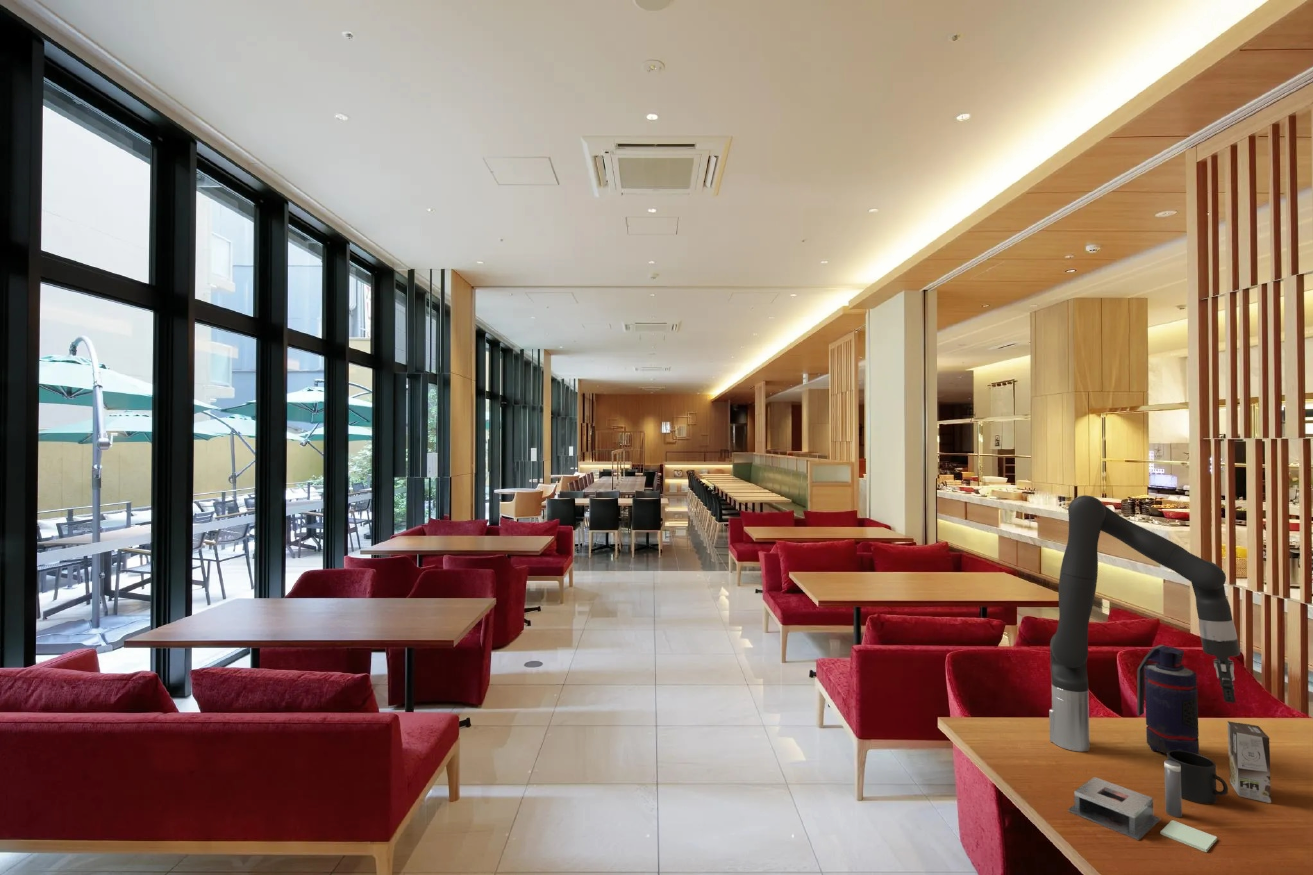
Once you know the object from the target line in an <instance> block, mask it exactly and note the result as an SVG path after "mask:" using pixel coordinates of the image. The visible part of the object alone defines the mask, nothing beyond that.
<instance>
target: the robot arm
mask: <svg viewBox="0 0 1313 875" xmlns="http://www.w3.org/2000/svg"><path fill="white" fill-rule="evenodd" d="M1067 512H1068V513H1067V514H1068V535H1067V536H1068V537H1067V544H1066V546H1065V547H1066V548H1065V550H1064V553H1063V558H1062V562H1061V566H1060V573H1059V580H1058V610H1059V612H1058V613H1059V615H1058V622H1057V628H1056V632H1055V633H1054V634H1053V635H1052V637H1051V639H1050V643H1049V647H1050V648H1049V649H1050V678H1051V679H1050V680H1051V708H1049V711H1048V713H1049V714H1048V715H1049V742H1050V743H1053V744H1055V745H1056V746H1058V747H1059V748H1062V749H1066V750H1068V751H1074V752H1087V751H1089V750H1090V747H1091V746H1090V743H1091V741H1090V709H1089V700H1090V699H1089V679H1088V678H1089V677H1088V667H1087V661H1088V658H1089V623H1090V618H1091V613H1092V611H1093V606H1094V601H1095V596H1096V590H1097V585H1098V584H1097V582H1098V572H1099V558H1098V557H1099V556H1098V547H1099V546H1098V545H1099V544H1098V543H1099V539H1100V534H1101V531H1102V532H1103V533H1106V534H1108V535H1110V536H1112V537H1113V538H1114V539H1117V540H1118V541H1121V542H1122V543H1124V544H1125V545H1127V546H1128V547H1130V548H1131V549H1133V550H1135V551H1136V552H1138V553H1139V554H1141V555H1143V556H1145V557H1146V558H1149V559H1150V560H1152V561H1154V562H1156V563H1157V564H1159V565H1161V566H1162V567H1165V568H1167V569H1169V570H1171V571H1173V572H1175V574H1177V575H1180V576H1181V577H1183V578H1184V579H1186V580H1187V581H1189V582H1191V586H1192V589H1193V592H1194V593H1193V594H1194V596H1195V606H1196V607H1195V608H1196V613H1197V619H1198V631H1199V634H1200V635H1199V636H1200V641H1201V646H1202V651H1203V653H1205V654H1206V655H1209V656H1214V657H1215V659H1213V666H1214V669H1215V671H1216V677H1217V679H1218V680H1219V682H1220V683H1219V686H1220V687H1221V690H1222V696H1223V700H1224V702H1225V703H1229V704H1230V703H1231V704H1236V696H1235V685H1234V682H1233V681H1235V679H1236V678H1235V674H1234V672H1235V671H1234V670H1235V665H1234V661H1233V660H1231V659H1230V658H1231V657H1232V658H1233V657H1238V656H1240V655H1241V650H1240V646H1239V644H1240V643H1239V640H1238V635H1237V630H1236V626H1235V622H1234V620H1233V615H1232V610H1231V609H1232V608H1231V606H1230V603H1229V600H1228V598H1227V595H1226V590H1225V584H1226V582H1227V581H1226V580H1227V577H1226V573H1225V572H1224V570H1223V569H1222V568H1221V567H1220V566H1219V565H1218V564H1216V563H1214V562H1213V561H1209V560H1205V559H1203V558H1202V557H1199V556H1197V555H1195V554H1193V553H1192V552H1191V553H1190V552H1189V551H1188V550H1186V549H1185V548H1184V547H1182V546H1181V545H1179V544H1176V543H1175V542H1173V541H1171V540H1169V539H1167V538H1166V537H1163V536H1162V535H1160V534H1157V533H1155V532H1154V531H1150V530H1148V529H1147V528H1144V527H1142V526H1140V525H1139V524H1136V523H1135V522H1131V521H1130V520H1128V519H1126V518H1124V517H1122V516H1121V515H1119V514H1118V513H1116V512H1115V511H1114V510H1112V509H1111V508H1109V507H1108V506H1107V505H1105V504H1104V503H1103V502H1102V501H1101V500H1100V499H1098V498H1097V497H1095V496H1092V495H1086V494H1085V495H1080V496H1077V497H1075V498H1073V500H1071V502H1070V503H1069V505H1068V508H1067Z"/></svg>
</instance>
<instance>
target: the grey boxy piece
mask: <svg viewBox="0 0 1313 875" xmlns="http://www.w3.org/2000/svg"><path fill="white" fill-rule="evenodd" d="M1112 798H1113V799H1112ZM1114 799H1117V800H1119V801H1117V800H1114ZM1120 801H1121V802H1120ZM1068 813H1071V814H1073V815H1076V816H1079V817H1081V818H1083V819H1086V820H1089V821H1090V822H1093V823H1095V824H1098V825H1101V826H1102V827H1105V828H1107V829H1110V830H1112V831H1115V832H1117V833H1120V834H1121V835H1124V836H1127V837H1130V838H1132V839H1135V840H1137V841H1140V840H1141V839H1142V838H1143V837H1144V836H1145V835H1146V834H1147V833H1148V832H1149V831H1150V830H1151V829H1152V828H1154V827H1155V826H1156V825H1157V824H1158V823H1159V822H1160V821H1161V817H1159V816H1156V815H1154V798H1153V797H1151V796H1149V795H1146V794H1143V793H1140V792H1138V791H1134V790H1133V789H1130V788H1126V787H1123V786H1121V785H1119V784H1115V783H1112V782H1109V781H1107V780H1104V779H1102V778H1099V777H1096V776H1094V777H1092V778H1091V779H1090V780H1088V781H1087V782H1085V783H1083V785H1081V786H1079V787H1078V788H1077V789H1075V790H1074V805H1072V806H1071V807H1070V808H1069V809H1068Z"/></svg>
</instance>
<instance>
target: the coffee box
mask: <svg viewBox="0 0 1313 875" xmlns="http://www.w3.org/2000/svg"><path fill="white" fill-rule="evenodd" d="M1227 739H1228V740H1227V744H1228V745H1227V747H1228V764H1229V766H1228V767H1229V769H1228V770H1229V783H1230V785H1231V786H1232V788H1233V789H1234V791H1235V792H1236V794H1237V795H1238V797H1240V798H1244V799H1250V800H1253V801H1259V802H1263V803H1267V804H1271V803H1272V785H1271V780H1272V779H1271V752H1270V750H1271V748H1270V747H1271V746H1270V739H1271V738H1270V737H1269V736H1268V734H1266V732H1264V730H1263V729H1262V728H1261V727H1260V726H1259V725H1255V724H1251V723H1250V724H1249V723H1242V722H1235V721H1234V722H1233V721H1229V720H1227Z"/></svg>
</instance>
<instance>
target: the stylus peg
mask: <svg viewBox="0 0 1313 875" xmlns="http://www.w3.org/2000/svg"><path fill="white" fill-rule="evenodd" d="M1163 762H1164V765H1163V766H1164V793H1165V794H1164V795H1165V797H1164V798H1165V802H1164V803H1165V813H1166V814H1167V815H1168V816H1170V817H1173V818H1182V817H1183V807H1182V805H1183V803H1182V800H1183V798H1181V765H1180V764H1179V763H1177V762H1174V761H1170V760H1167V759H1166V760H1164V761H1163Z"/></svg>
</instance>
